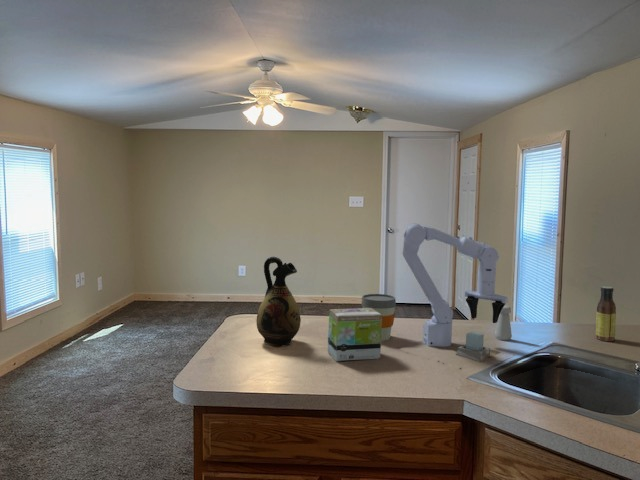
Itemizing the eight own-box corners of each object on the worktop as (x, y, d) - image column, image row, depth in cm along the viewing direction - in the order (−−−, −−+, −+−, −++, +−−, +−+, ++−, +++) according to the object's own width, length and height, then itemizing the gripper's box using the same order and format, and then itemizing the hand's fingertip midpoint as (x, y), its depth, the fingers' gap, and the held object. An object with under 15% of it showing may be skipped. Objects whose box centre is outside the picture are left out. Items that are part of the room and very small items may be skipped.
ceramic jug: (308, 340, 173) (309, 256, 170) (287, 352, 159) (288, 261, 156) (267, 333, 180) (267, 253, 177) (243, 344, 166) (244, 258, 163)
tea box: (336, 362, 150) (337, 316, 149) (327, 352, 160) (328, 308, 158) (381, 359, 154) (382, 313, 153) (369, 349, 164) (371, 306, 162)
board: (475, 348, 167) (476, 338, 167) (501, 354, 161) (501, 344, 160) (454, 357, 157) (455, 347, 157) (481, 364, 151) (481, 353, 150)
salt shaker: (493, 341, 175) (495, 306, 174) (495, 338, 180) (497, 303, 179) (510, 344, 172) (512, 308, 171) (512, 340, 177) (514, 305, 176)
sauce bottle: (609, 337, 183) (613, 285, 182) (618, 342, 177) (622, 288, 175) (591, 336, 184) (595, 285, 182) (599, 341, 178) (603, 288, 176)
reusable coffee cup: (401, 340, 174) (402, 299, 173) (370, 343, 170) (371, 301, 168) (384, 331, 186) (385, 292, 185) (354, 334, 181) (355, 294, 180)
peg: (476, 358, 154) (477, 336, 153) (465, 355, 156) (466, 333, 156) (482, 355, 157) (483, 334, 156) (471, 352, 159) (472, 331, 159)
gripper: (512, 282, 163) (510, 322, 164) (472, 277, 173) (470, 314, 174) (503, 285, 158) (500, 326, 159) (462, 279, 168) (460, 317, 169)
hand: (484, 320), depth 166 cm, fingers open, 7 cm apart
